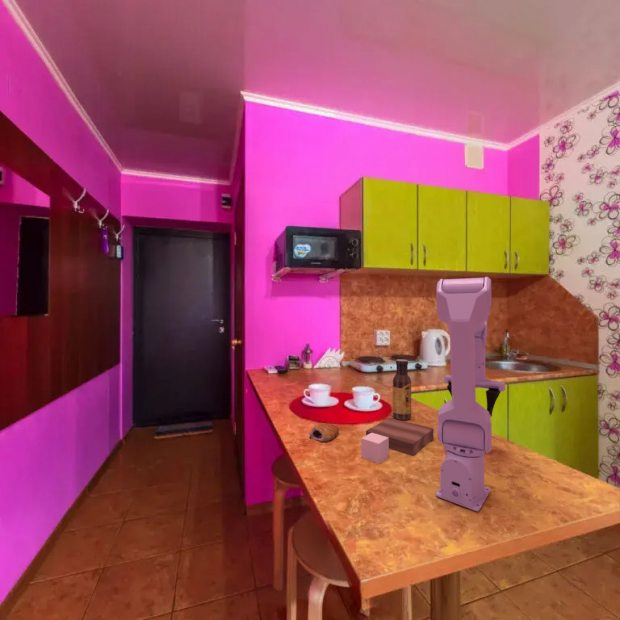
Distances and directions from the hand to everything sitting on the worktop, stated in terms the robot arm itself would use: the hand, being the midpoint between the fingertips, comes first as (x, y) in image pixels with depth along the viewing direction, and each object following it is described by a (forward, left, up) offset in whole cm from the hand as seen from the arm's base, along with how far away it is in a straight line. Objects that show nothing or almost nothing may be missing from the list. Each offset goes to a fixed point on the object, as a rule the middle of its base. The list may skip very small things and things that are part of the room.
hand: (473, 413), depth 87 cm
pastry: (-19, +36, -10) cm, 42 cm away
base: (-7, +18, -10) cm, 21 cm away
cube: (-21, +18, -10) cm, 29 cm away
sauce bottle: (+11, +26, -10) cm, 30 cm away
